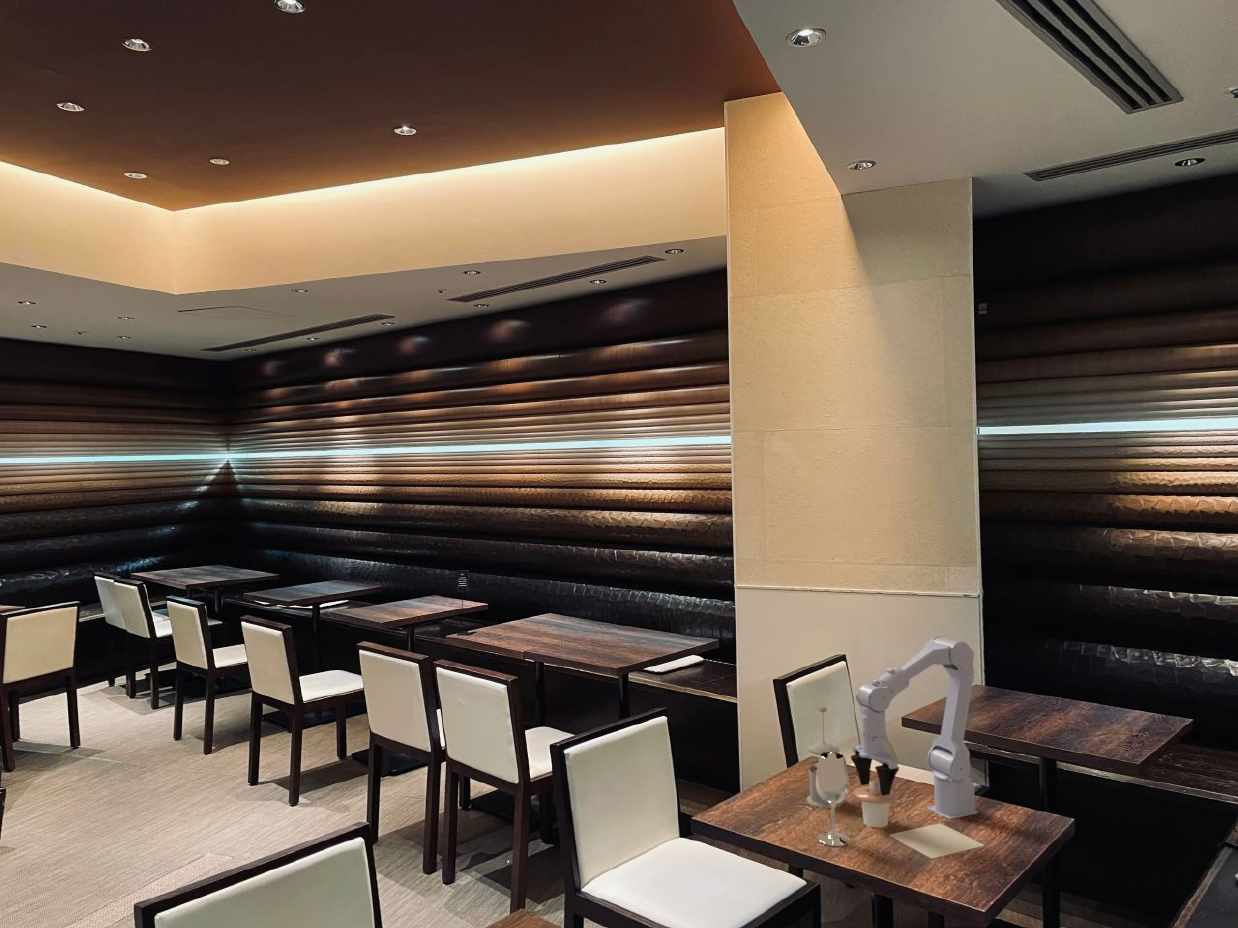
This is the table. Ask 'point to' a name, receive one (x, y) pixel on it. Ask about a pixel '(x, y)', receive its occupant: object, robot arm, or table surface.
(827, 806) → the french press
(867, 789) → the lid
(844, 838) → the wineglass
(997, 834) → the table surface
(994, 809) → the table surface
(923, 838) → the mat
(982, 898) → the table surface
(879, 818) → the white tapered pot
